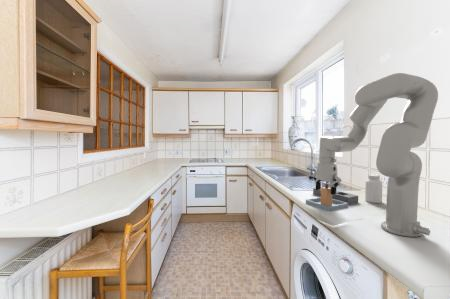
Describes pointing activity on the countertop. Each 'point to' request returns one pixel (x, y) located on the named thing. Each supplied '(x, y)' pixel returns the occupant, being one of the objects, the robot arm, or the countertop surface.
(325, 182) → the twin plug
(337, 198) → the grey two-slot holder
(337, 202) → the tray
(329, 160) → the robot arm
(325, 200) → the plug
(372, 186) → the pill bottle
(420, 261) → the countertop surface
